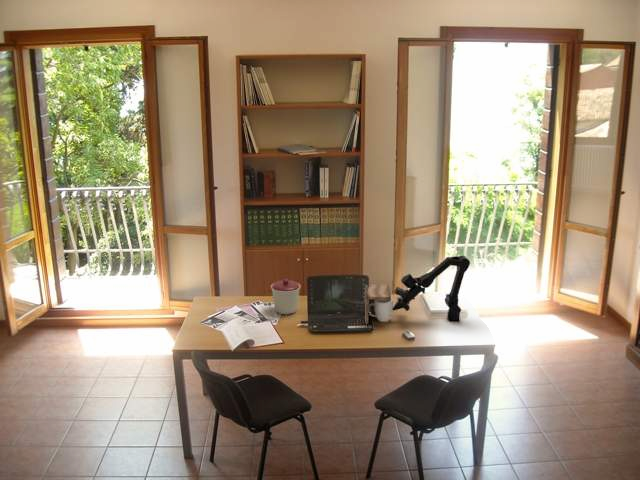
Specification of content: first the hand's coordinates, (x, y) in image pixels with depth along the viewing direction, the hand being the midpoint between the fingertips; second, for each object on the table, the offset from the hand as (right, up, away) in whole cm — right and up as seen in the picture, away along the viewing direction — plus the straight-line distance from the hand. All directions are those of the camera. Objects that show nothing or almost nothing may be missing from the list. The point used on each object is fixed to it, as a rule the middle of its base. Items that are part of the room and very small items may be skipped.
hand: (392, 309), depth 359 cm
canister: (-64, -3, +15) cm, 66 cm away
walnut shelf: (-9, -6, +3) cm, 12 cm away
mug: (-6, -6, +3) cm, 9 cm away
